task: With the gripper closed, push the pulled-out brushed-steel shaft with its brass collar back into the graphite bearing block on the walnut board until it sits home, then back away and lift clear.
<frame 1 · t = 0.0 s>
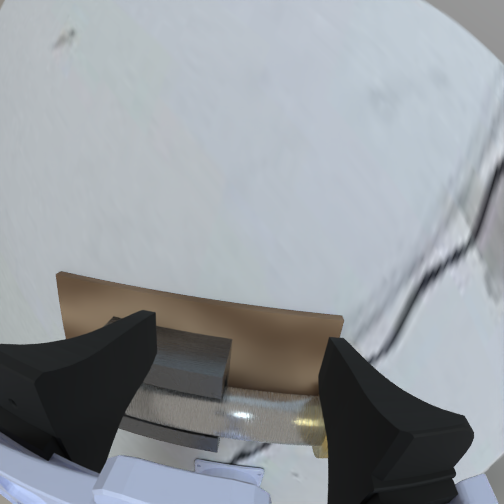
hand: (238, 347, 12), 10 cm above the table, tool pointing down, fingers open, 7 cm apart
shaft: (234, 413, 20), point 5 cm above the table, slide at 7.0 cm
bearing block: (173, 364, 25), resting on base board
base board: (173, 364, 25), on the table
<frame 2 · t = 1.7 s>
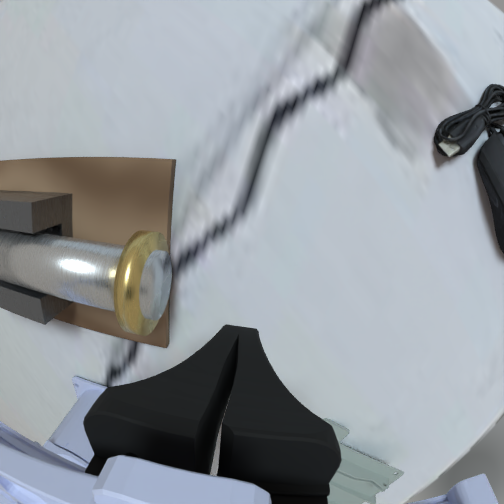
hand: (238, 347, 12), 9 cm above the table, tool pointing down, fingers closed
metal bracket: (330, 465, 27), on the table
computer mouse: (500, 182, 18), on the table
shaft: (54, 265, 17), point 5 cm above the table, slide at 7.0 cm
bearing block: (37, 239, 22), resting on base board
base board: (37, 239, 22), on the table
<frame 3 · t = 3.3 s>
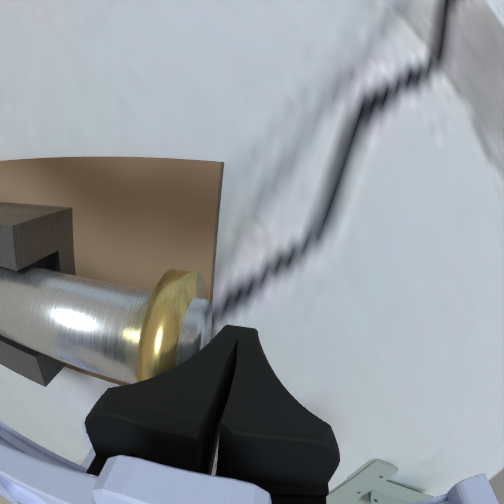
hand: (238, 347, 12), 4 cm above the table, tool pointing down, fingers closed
metal bracket: (368, 497, 22), on the table
shaft: (43, 310, 12), point 4 cm above the table, slide at 6.4 cm, touching gripper
bearing block: (28, 265, 16), resting on base board
base board: (28, 265, 16), on the table
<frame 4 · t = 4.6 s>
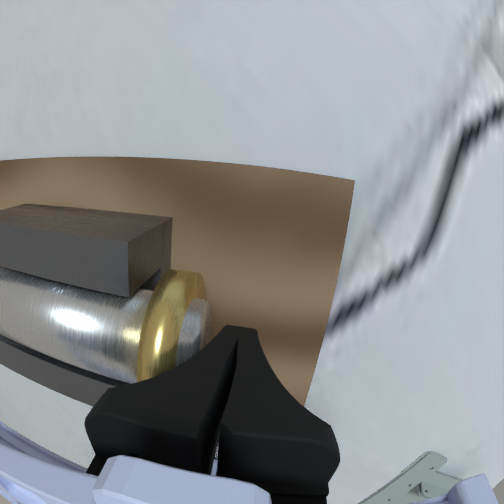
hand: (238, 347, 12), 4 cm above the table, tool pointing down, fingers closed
metal bracket: (411, 490, 22), on the table
shaft: (43, 310, 12), point 4 cm above the table, slide at 0.5 cm, touching gripper
bearing block: (96, 279, 16), resting on base board
base board: (96, 279, 16), on the table
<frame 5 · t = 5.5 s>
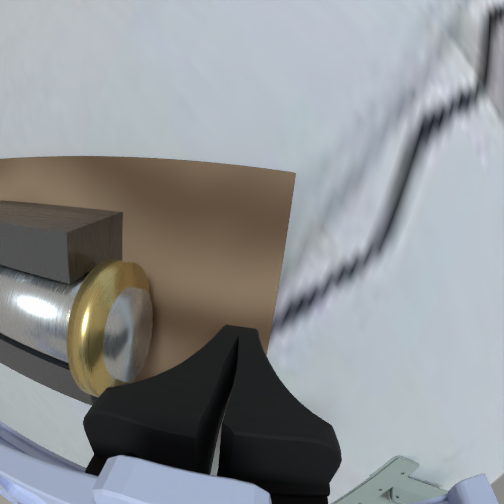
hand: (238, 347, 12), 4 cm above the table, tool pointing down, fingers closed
metal bracket: (386, 495, 22), on the table
shaft: (9, 297, 12), point 4 cm above the table, slide at 0.4 cm
bearing block: (62, 271, 16), resting on base board
base board: (62, 271, 16), on the table
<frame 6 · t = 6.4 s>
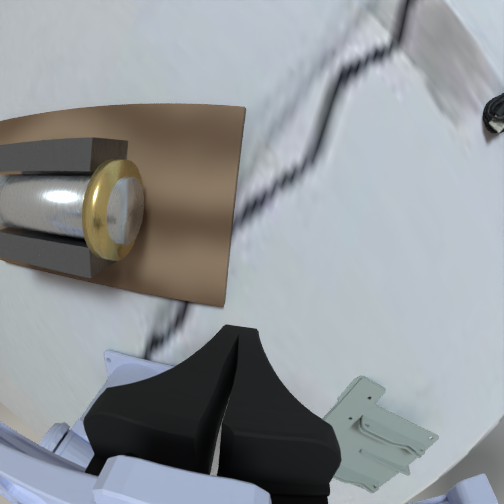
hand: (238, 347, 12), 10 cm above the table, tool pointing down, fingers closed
metal bracket: (361, 434, 27), on the table
shaft: (37, 202, 17), point 5 cm above the table, slide at 0.4 cm
bearing block: (77, 194, 21), resting on base board
base board: (77, 194, 21), on the table
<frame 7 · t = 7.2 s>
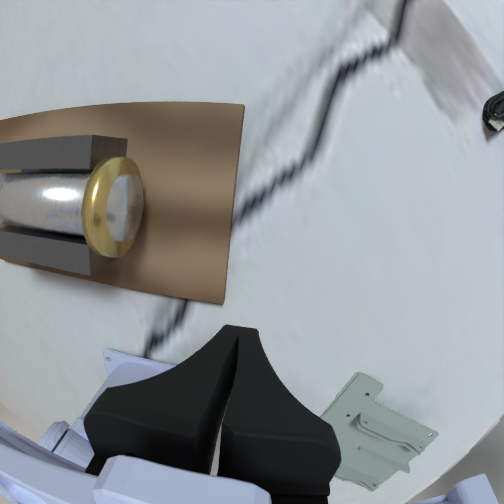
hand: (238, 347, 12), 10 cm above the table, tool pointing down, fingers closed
metal bracket: (360, 431, 27), on the table
shaft: (36, 200, 17), point 4 cm above the table, slide at 0.4 cm
bearing block: (77, 193, 21), resting on base board
base board: (77, 193, 21), on the table
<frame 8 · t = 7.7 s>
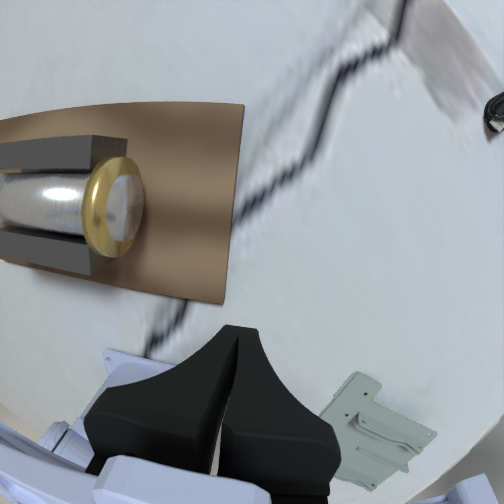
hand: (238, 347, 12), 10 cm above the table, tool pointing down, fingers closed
metal bracket: (358, 431, 27), on the table
shaft: (36, 200, 17), point 4 cm above the table, slide at 0.4 cm
bearing block: (77, 193, 21), resting on base board
base board: (77, 193, 21), on the table
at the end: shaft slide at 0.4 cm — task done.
